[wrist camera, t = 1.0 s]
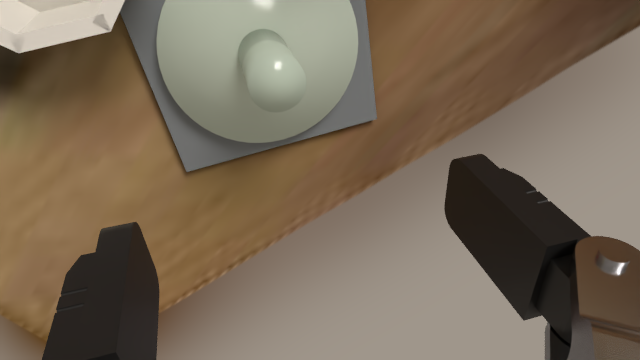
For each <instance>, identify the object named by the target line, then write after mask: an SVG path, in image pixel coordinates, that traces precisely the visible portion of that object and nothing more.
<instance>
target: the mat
mask: <svg viewBox="0 0 640 360" xmlns="http://www.w3.org/2000/svg"><path fill="white" fill-rule="evenodd" d="M164 1H165V0H125V1H124V3H123V5H122V8H121V10H120V14H121V16H122V18H123V21H124V23H125V26H126V28H127V30H128V33H129V35H130V38H131V40H132V42H133V45H134V47H135V50H136V52H137V54H138V57H139V59H140V62H141V64H142V66H143V69H144V71H145V74H146V76H147V78H148V81H149V83H150V85H151V88H152V90H153V93H154V95H155V97H156V100H157V102H158V105H159V107H160V109H161V112H162V114H163V117H164V119H165V121H166V124H167V126H168V129H169V131H170V133H171V136H172V138H173V141H174V143H175V145H176V148H177V150H178V152H179V155H180V157H181V160H182V162H183V164H184V167H185V169H186V172H189V171H193V170H196V169H200V168H203V167H207V166H210V165H214V164H218V163H221V162H225V161H228V160H232V159H235V158H239V157H243V156H246V155H250V154H253V153H257V152H260V151H264V150H268V149H271V148H275V147H278V146H282V145H285V144H289V143H293V142H296V141H300V140H303V139H307V138H310V137H314V136H318V135H321V134H325V133H328V132H332V131H335V130H339V129H343V128H346V127H350V126H353V125H357V124H360V123H364V122H368V121H371V120H375V119H377V115H376V105H375V95H374V84H373V74H372V64H371V54H370V44H369V33H368V23H367V13H366V3H365V0H349V1H350V3H351V5H352V9H353V12H354V15H355V18H356V24H357V29H358V54H357V60H356V65H355V69H354V72H353V75H352V78H351V80H350V83H349V85H348V87H347V89H346V91H345V92H344V94H343V96H342V97H341V99H340V100H339V102H338V103H337V104H336V105H335V107H334V108H333V109H332V110H331V111H330V112H329V113H328V114H327V115H326V116H325V117H324V118H323V119H322V120H320V121H319V122H318V123H317V124H315V125H314V126H312V127H311V128H309V129H307V130H306V131H304V132H302V133H299V134H297V135H295V136H292V137H289V138H286V139H283V140H279V141H274V142H266V143H248V142H240V141H235V140H231V139H227V138H224V137H222V136H219V135H217V134H214V133H212V132H211V131H209V130H207V129H205V128H203V127H202V126H200V125H199V124H198V123H196V122H195V121H194V120H192V119H191V118H190V117H189V116H188V115H187V114H186V113H185V112H184V111H183V110H182V109H181V108H180V106H179V105H178V104H177V103H176V101H175V100H174V98H173V97H172V95H171V94H170V92H169V90H168V88H167V86H166V84H165V82H164V80H163V76H162V73H161V70H160V67H159V62H158V56H157V30H158V22H159V17H160V13H161V9H162V6H163V3H164Z"/></svg>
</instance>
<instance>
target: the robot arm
mask: <svg viewBox="0 0 640 360" xmlns="http://www.w3.org/2000/svg"><path fill="white" fill-rule="evenodd" d="M445 215H446V219H447V221H448V224H449V225H450V227H451V229H452V230H453V231H454V232H455V234H456V235H457V236H458V237H459V239H460V240H461V241H462V243H463V244H464V245H465V246H466V248H467V249H468V250H469V251H470V253H471V254H472V255H473V257H474V258H475V259H476V260H477V262H478V263H479V264H480V266H481V267H482V268H483V269H484V270H485V272H486V273H487V274H488V276H489V277H490V278H491V279H492V281H493V282H494V283H495V285H496V286H497V287H498V288H499V290H500V291H501V292H502V293H503V295H504V296H505V297H506V299H507V300H508V301H509V302H510V304H511V305H512V306H513V308H514V309H515V310H516V311H517V313H518V314H519V315H520V316H521V318H522V319H523V320H527V319H531V318H534V317H538V316H541V315H542V316H543V317H544V318H545V319H546V320H547V322H548V323H547V326H546V328H545V360H640V251H639V250H638V249H636V248H634V247H633V246H631V245H629V244H627V243H625V242H623V241H620V240H617V239H614V238H609V237H603V236H593V237H591V236H590V235H589V234H588V233H587V232H585V231H584V230H583V229H582V228H581V227H580V226H578V225H577V224H576V223H575V222H574V221H573V220H571V219H570V218H569V217H568V216H567V215H566V214H564V213H563V212H562V211H561V210H560V209H559V208H557V207H556V206H555V205H554V204H553V203H552V202H551V201H550V202H548V200H547V198H546V197H545V196H543V195H542V194H541V193H540V192H537V191H536V189H535V188H534V187H533V186H532V185H531V184H530V183H529V182H527V181H526V180H525V179H524V178H523V177H521V176H519V175H517V174H514V173H512V172H510V171H508V170H506V169H504V168H503V169H499V168H498V167H497V166H496V165H495V164H494V163H493V162H491V161H490V160H489V159H488V158H487V157H486V156H485V155H483V154H477V155H473V156H467V157H462V158H458V159H454V160H452V162H451V164H450V168H449V175H448V183H447V190H446V198H445ZM56 310H57V313H55V315H54V319H53V322H52V326H51V329H50V333H49V336H48V340H47V343H46V347H45V350H44V354H43V357H42V360H156V353H157V331H158V311H159V283H158V277H157V272H156V269H155V266H154V263H153V261H152V258H151V255H150V253H149V250H148V248H147V245H146V242H145V240H144V237H143V234H142V232H141V229H140V227H139V225H138V224H137V223H136V222H133V223H128V224H123V225H118V226H113V227H108V228H103V229H101V231H100V234H99V239H98V243H97V248H96V252H95V253H90V254H85V255H81V256H80V257H79V258H78V260H77V261H76V262H75V264H74V265H73V266H72V267H71V269H70V270H69V271H68V272H67V274H66V277H65V280H64V284H63V287H62V291H61V297H60V298H59V301H58V305H57V308H56Z"/></svg>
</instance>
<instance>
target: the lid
mask: <svg viewBox="0 0 640 360" xmlns="http://www.w3.org/2000/svg"><path fill="white" fill-rule="evenodd" d="M357 54H358V29H357V24H356V18H355V15H354V12H353V9H352V5H351V3H350V1H349V0H165V1H164V3H163V6H162V9H161V13H160V17H159V22H158V30H157V56H158V62H159V67H160V70H161V73H162V76H163V80H164V82H165V84H166V86H167V88H168V90H169V92H170V94H171V95H172V97H173V98H174V100H175V101H176V103H177V104H178V105H179V106H180V108H181V109H182V110H183V111H184V112H185V113H186V114H187V115H188V116H189V117H190V118H191V119H192V120H194V121H195V122H196V123H198V124H199V125H200V126H202V127H203V128H205V129H207V130H209V131H211V132H212V133H214V134H217V135H219V136H222V137H224V138H227V139H231V140H235V141H240V142H248V143H266V142H274V141H279V140H283V139H286V138H289V137H292V136H295V135H297V134H299V133H302V132H304V131H306V130H307V129H309V128H311V127H312V126H314V125H315V124H317V123H318V122H319V121H320V120H322V119H323V118H324V117H325V116H326V115H327V114H328V113H329V112H330V111H331V110H332V109H333V108H334V107H335V105H336V104H337V103H338V102H339V100H340V99H341V97H342V96H343V94H344V92H345V91H346V89H347V87H348V85H349V83H350V80H351V78H352V75H353V72H354V69H355V65H356V60H357Z"/></svg>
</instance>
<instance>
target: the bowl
mask: <svg viewBox="0 0 640 360" xmlns="http://www.w3.org/2000/svg"><path fill="white" fill-rule="evenodd" d="M124 1H125V0H0V45H1V46H4V47H6V48H8V49H10V50H12V51H15V52H17V53H19V54H20V53H22V52H26V51H31V50H35V49H39V48H43V47H47V46H52V45H56V44H60V43H64V42H68V41H73V40H77V39H81V38H85V37H89V36H94V35H98V34H102V33H106V32H110V31H111V30H112V28H113V26H114V24H115V21H116V19H117V17H118V15H119V12H120V10H121V8H122V5H123V3H124Z"/></svg>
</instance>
